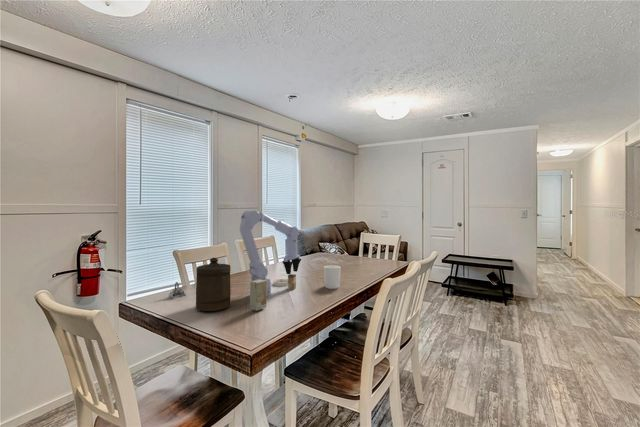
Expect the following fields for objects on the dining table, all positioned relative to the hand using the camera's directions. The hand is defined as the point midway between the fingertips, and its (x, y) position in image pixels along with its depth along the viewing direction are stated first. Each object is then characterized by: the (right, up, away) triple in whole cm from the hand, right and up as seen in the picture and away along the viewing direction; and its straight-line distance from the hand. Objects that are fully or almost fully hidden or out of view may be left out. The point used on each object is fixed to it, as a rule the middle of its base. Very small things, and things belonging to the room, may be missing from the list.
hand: (292, 272), depth 163 cm
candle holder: (+22, -10, +4) cm, 25 cm away
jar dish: (-7, -9, +10) cm, 15 cm away
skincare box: (-12, -10, -32) cm, 36 cm away
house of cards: (-59, -10, -12) cm, 61 cm away
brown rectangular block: (0, -9, 0) cm, 9 cm away
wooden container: (-33, -10, -29) cm, 45 cm away
